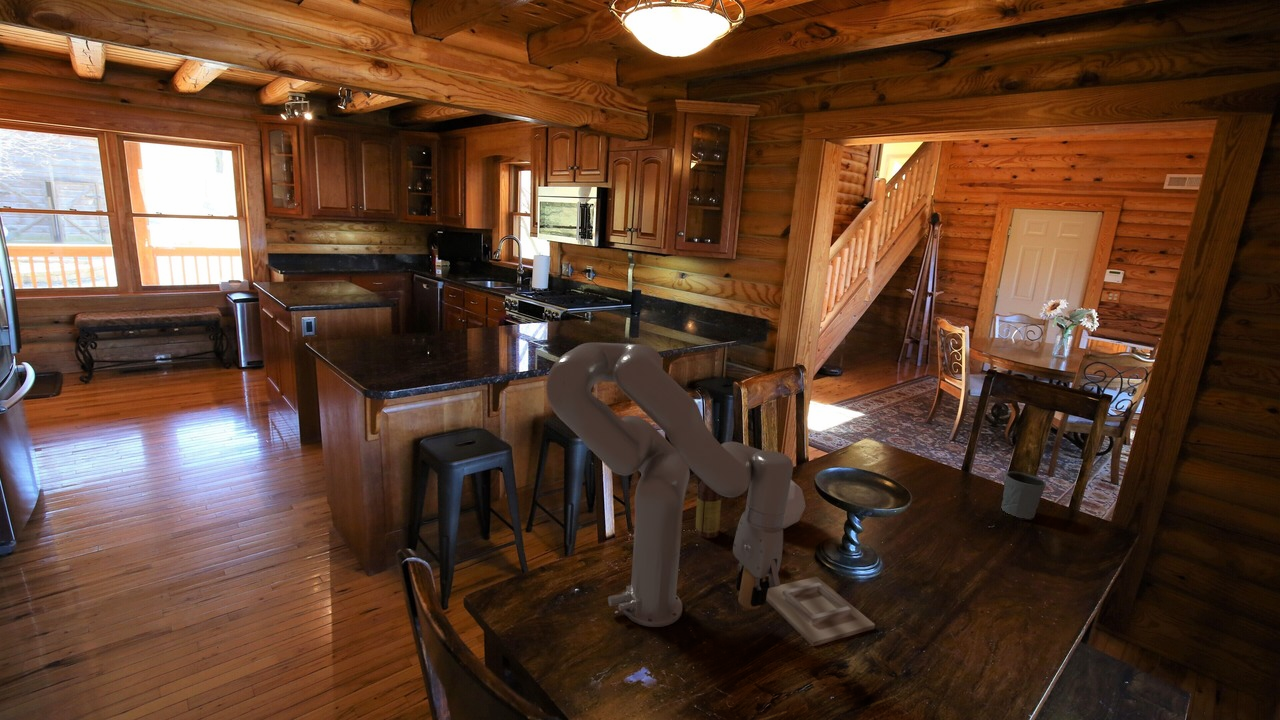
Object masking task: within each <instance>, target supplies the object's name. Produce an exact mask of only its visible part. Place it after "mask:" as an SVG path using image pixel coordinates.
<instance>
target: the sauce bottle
mask: <svg viewBox="0 0 1280 720" xmlns="http://www.w3.org/2000/svg"><path fill="white" fill-rule="evenodd" d="M700 480H701V479H700ZM721 506H722V495H720V494H718V493H716V492H715V491H713V490H712V489H711V488H710V487H709V486H707V485H706V484H705V483H704V482H703V481H702V480H701V481H700V482H699V484H698V486H697V496H696V510H695V511H696V514H695V533H696V534H697V535H698V536H700V537H702V538H705V539H714V538H716V537H718V535H719V530H720V526H721V525H720V523H721V508H722V507H721Z"/></svg>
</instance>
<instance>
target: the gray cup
mask: <svg viewBox="0 0 1280 720" xmlns="http://www.w3.org/2000/svg"><path fill="white" fill-rule="evenodd" d="M1046 485H1047V482H1046V481H1044V480H1043V479H1042V478H1040V477H1038V476H1036V475H1032V474H1029V473H1025V472H1021V471H1020V472H1019V471H1007V472H1006V473H1005V480H1004V487H1003V488H1004V489H1003V494H1002V501H1001V507H1000V509H1001V508H1002V510H1003V511H1005V512H1006V513H1008V514H1011V515H1013V516H1016V517H1019V518H1025V519H1031V518H1035V515H1036V513H1037V512H1036V511H1037V510H1038V509H1037V508H1038V507H1039V503H1040V500H1041V498H1042V496H1043V493H1044V491H1045V488H1046Z"/></svg>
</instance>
